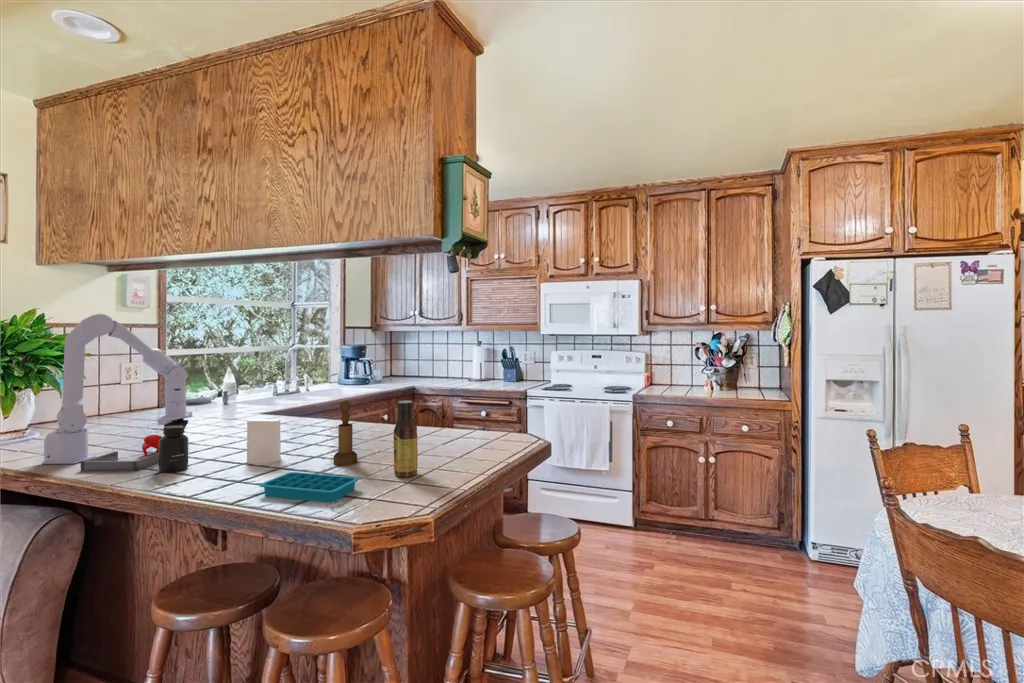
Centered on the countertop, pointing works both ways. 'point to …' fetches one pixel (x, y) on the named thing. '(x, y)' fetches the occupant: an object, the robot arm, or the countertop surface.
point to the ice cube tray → (309, 486)
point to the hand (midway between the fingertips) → (176, 442)
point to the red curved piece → (151, 443)
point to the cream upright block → (263, 441)
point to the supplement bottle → (173, 449)
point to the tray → (117, 463)
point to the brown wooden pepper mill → (345, 439)
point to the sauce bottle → (405, 441)
